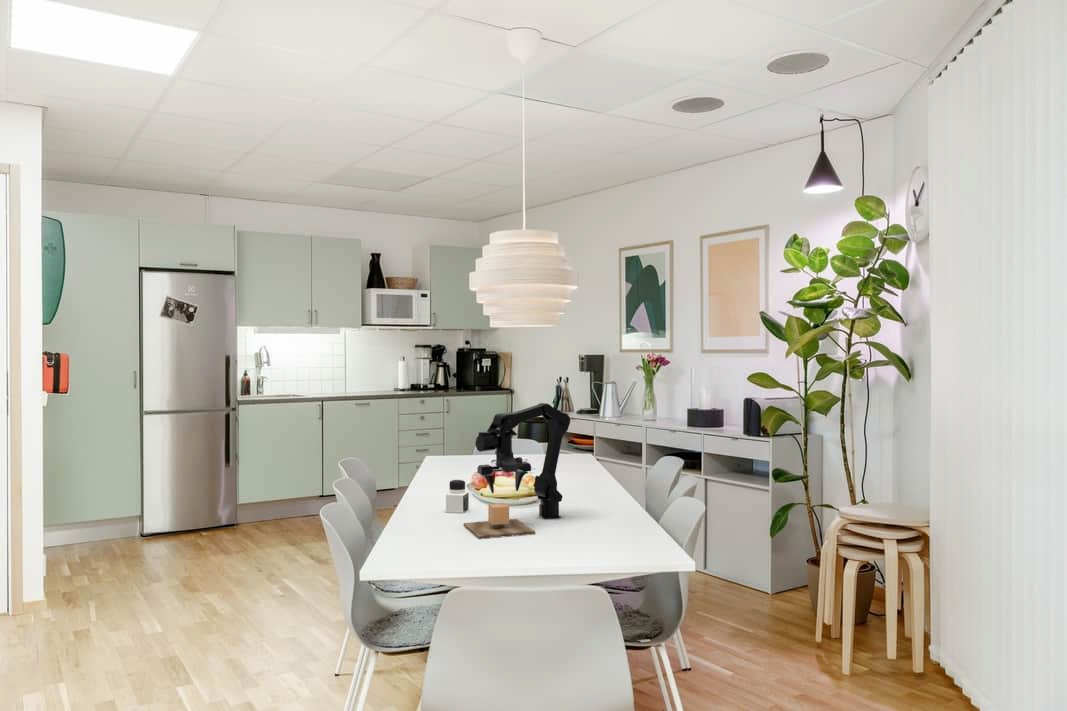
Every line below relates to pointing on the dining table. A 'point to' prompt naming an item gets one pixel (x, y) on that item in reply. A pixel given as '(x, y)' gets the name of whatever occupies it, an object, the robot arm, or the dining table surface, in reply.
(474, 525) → the wooden base with peg
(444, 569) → the dining table surface
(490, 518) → the peach wooden cube
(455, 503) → the medicine bottle
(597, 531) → the dining table surface
